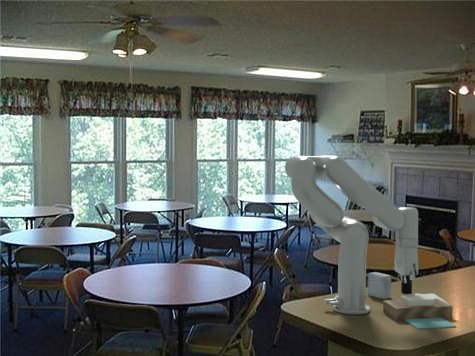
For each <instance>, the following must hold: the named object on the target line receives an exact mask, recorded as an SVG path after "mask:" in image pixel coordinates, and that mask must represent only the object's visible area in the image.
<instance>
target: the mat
mask: <svg viewBox="0 0 475 356" xmlns="http://www.w3.org/2000/svg"><path fill="white" fill-rule="evenodd" d="M404 322H406V323H408V324H409V325H411V326H412V327H414V328H415V329H417V330H427V329H445V328H446V329H448V328H457V325H455V324H453V323H451V322H450V321H448V319H447V320H446V318H423V319H405V320H404Z"/></svg>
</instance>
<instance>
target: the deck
mask: <svg viewBox="0 0 475 356" xmlns="http://www.w3.org/2000/svg"><path fill="white" fill-rule="evenodd" d="M447 303H448V302H447ZM447 303H445V302H443V301H441V300H440V299H438V298H437V299H434V305H428V306H408V305H406V304H404V303H403V302H401V299H389V300H387V299H385V300H383V307H382V308H383V309H382V312H383V313H384V314H385V315H387V316H389V318H391V319H392V320H393V321H405V319H423V318H443V319H453V309H454V308H453V307H454V306H453V305H451V304H450V303H449V304H450V305H449V304H447Z"/></svg>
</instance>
